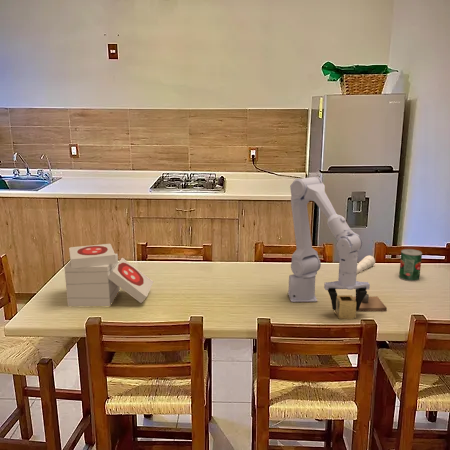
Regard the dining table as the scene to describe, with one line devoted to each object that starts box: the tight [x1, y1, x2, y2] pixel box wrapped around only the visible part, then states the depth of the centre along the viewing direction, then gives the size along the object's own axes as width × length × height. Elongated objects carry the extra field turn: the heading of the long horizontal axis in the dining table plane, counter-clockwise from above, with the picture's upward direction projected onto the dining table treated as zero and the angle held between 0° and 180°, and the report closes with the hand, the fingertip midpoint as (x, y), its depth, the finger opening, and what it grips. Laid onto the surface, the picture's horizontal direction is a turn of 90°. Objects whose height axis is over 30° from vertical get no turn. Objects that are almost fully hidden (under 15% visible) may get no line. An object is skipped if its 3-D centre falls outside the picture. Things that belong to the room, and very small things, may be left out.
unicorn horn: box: [357, 255, 376, 274], centre depth 204 cm, size 5×24×5 cm, turn 135°
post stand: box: [353, 293, 388, 312], centre depth 170 cm, size 12×10×4 cm
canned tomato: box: [398, 248, 423, 282], centre depth 196 cm, size 8×8×11 cm
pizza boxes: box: [64, 243, 154, 307], centre depth 175 cm, size 19×30×18 cm, turn 89°
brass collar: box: [334, 294, 357, 320], centre depth 162 cm, size 6×6×6 cm
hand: (345, 309), depth 162 cm, fingers open, 7 cm apart
